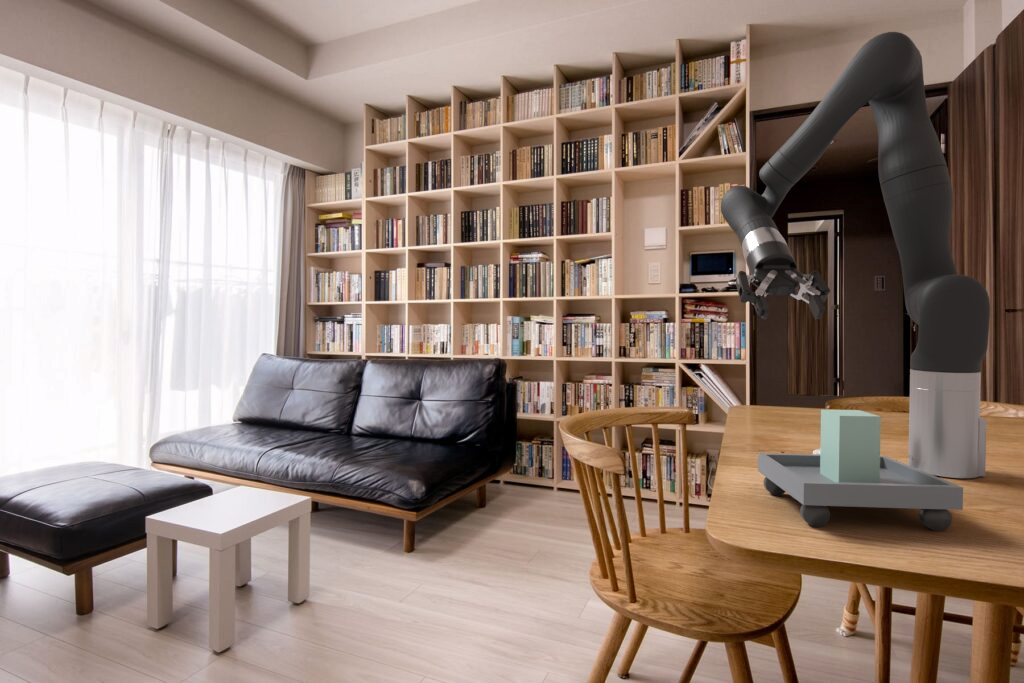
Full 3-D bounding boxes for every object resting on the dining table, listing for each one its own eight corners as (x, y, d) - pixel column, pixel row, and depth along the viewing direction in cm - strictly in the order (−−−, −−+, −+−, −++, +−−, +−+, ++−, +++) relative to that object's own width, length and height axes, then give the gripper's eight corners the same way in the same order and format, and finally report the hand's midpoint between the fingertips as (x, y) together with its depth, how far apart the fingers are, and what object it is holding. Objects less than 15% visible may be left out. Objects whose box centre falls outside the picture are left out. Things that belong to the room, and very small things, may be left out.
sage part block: (858, 474, 72) (859, 410, 72) (879, 485, 67) (880, 416, 67) (820, 473, 73) (821, 409, 72) (838, 484, 68) (839, 415, 67)
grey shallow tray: (884, 494, 76) (885, 455, 76) (962, 534, 62) (963, 487, 61) (757, 490, 78) (758, 453, 78) (803, 529, 63) (803, 483, 63)
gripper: (732, 240, 96) (754, 299, 85) (813, 238, 94) (846, 298, 83) (723, 272, 101) (743, 331, 90) (800, 271, 100) (829, 331, 89)
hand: (793, 315), depth 87 cm, fingers open, 8 cm apart
